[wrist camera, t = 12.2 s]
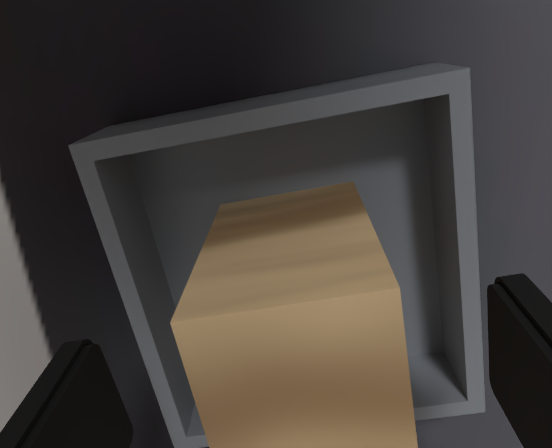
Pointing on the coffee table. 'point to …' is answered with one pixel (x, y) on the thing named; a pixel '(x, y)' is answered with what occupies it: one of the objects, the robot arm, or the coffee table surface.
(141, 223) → the tray
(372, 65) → the coffee table surface
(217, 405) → the oak block
